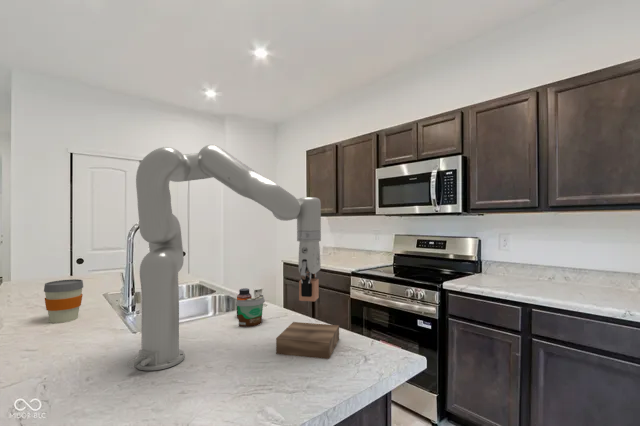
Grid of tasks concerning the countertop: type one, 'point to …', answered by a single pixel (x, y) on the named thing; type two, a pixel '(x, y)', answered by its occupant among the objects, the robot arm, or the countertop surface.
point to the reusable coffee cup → (63, 300)
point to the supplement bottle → (243, 295)
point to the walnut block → (308, 340)
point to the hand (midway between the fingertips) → (309, 293)
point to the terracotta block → (314, 291)
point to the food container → (250, 311)
